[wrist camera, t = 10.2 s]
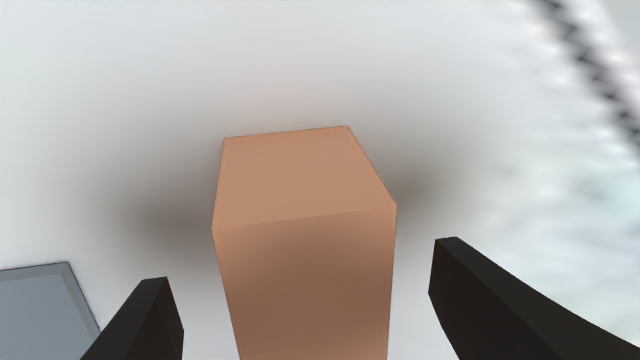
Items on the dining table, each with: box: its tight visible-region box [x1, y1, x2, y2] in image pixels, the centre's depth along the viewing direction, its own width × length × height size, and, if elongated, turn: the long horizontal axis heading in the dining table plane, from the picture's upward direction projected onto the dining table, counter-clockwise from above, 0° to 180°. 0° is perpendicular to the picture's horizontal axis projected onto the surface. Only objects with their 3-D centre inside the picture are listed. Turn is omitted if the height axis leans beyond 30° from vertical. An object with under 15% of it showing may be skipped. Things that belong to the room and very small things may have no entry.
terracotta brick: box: [211, 126, 397, 360], centre depth 12 cm, size 6×4×5 cm, turn 2°
